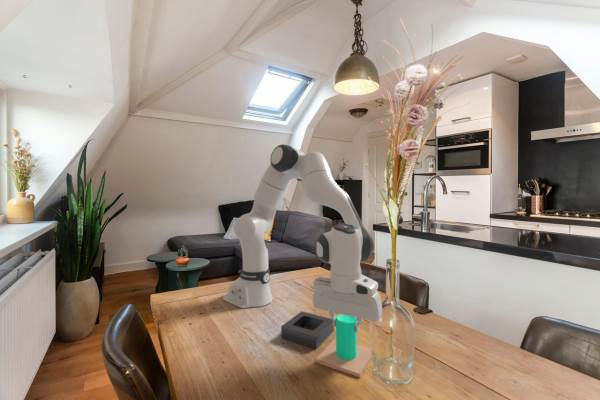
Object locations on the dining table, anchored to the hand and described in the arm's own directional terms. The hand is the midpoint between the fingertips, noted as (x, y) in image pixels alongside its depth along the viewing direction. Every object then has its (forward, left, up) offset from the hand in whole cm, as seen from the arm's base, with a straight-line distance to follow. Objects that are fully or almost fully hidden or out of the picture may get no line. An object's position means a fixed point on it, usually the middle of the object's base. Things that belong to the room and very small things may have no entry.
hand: (346, 328), depth 84 cm
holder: (-16, +6, -9) cm, 19 cm away
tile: (0, 0, -9) cm, 9 cm away
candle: (0, 0, -8) cm, 8 cm away
